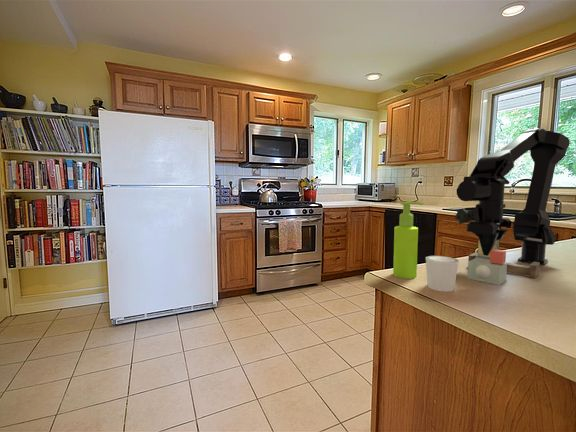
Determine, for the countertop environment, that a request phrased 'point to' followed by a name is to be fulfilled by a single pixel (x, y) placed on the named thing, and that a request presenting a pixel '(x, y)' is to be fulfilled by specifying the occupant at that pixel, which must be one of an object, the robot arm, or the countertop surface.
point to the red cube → (497, 256)
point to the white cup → (441, 272)
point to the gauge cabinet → (487, 271)
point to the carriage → (480, 253)
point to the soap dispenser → (405, 244)
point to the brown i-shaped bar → (519, 268)
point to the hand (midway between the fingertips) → (488, 254)
